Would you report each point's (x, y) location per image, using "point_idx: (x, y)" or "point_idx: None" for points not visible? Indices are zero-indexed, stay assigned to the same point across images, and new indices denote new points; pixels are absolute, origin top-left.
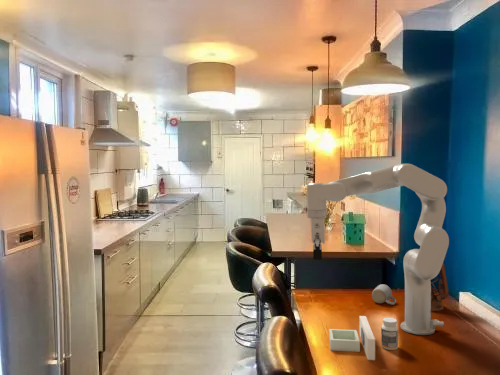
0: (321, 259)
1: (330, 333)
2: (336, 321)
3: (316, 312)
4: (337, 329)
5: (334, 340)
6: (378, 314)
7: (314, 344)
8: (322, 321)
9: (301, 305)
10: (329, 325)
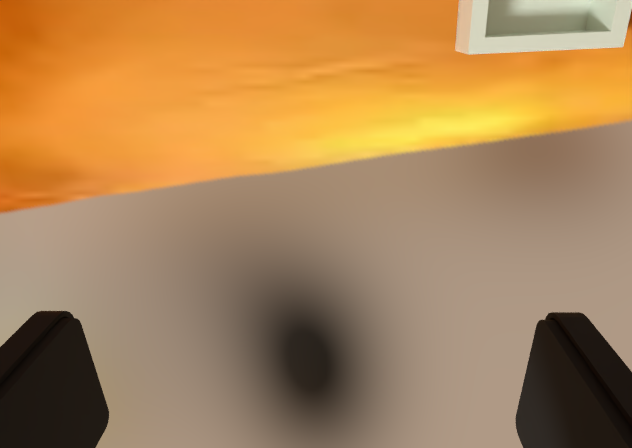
0: (580, 316)
1: (534, 47)
2: (208, 5)
3: (103, 120)
4: (475, 3)
5: (627, 24)
6: None
7: (522, 122)
8: (227, 86)
9: (27, 199)
10: (276, 47)
